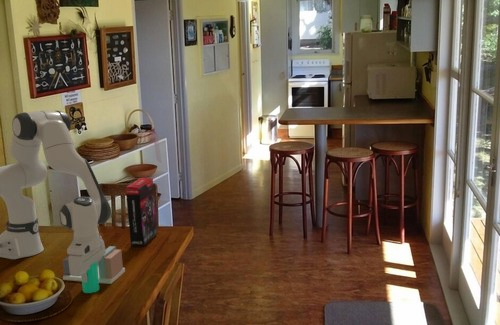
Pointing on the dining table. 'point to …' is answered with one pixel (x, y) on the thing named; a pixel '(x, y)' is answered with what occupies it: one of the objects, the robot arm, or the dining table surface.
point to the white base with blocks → (106, 267)
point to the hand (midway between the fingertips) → (90, 278)
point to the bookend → (66, 266)
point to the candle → (91, 280)
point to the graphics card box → (141, 211)
